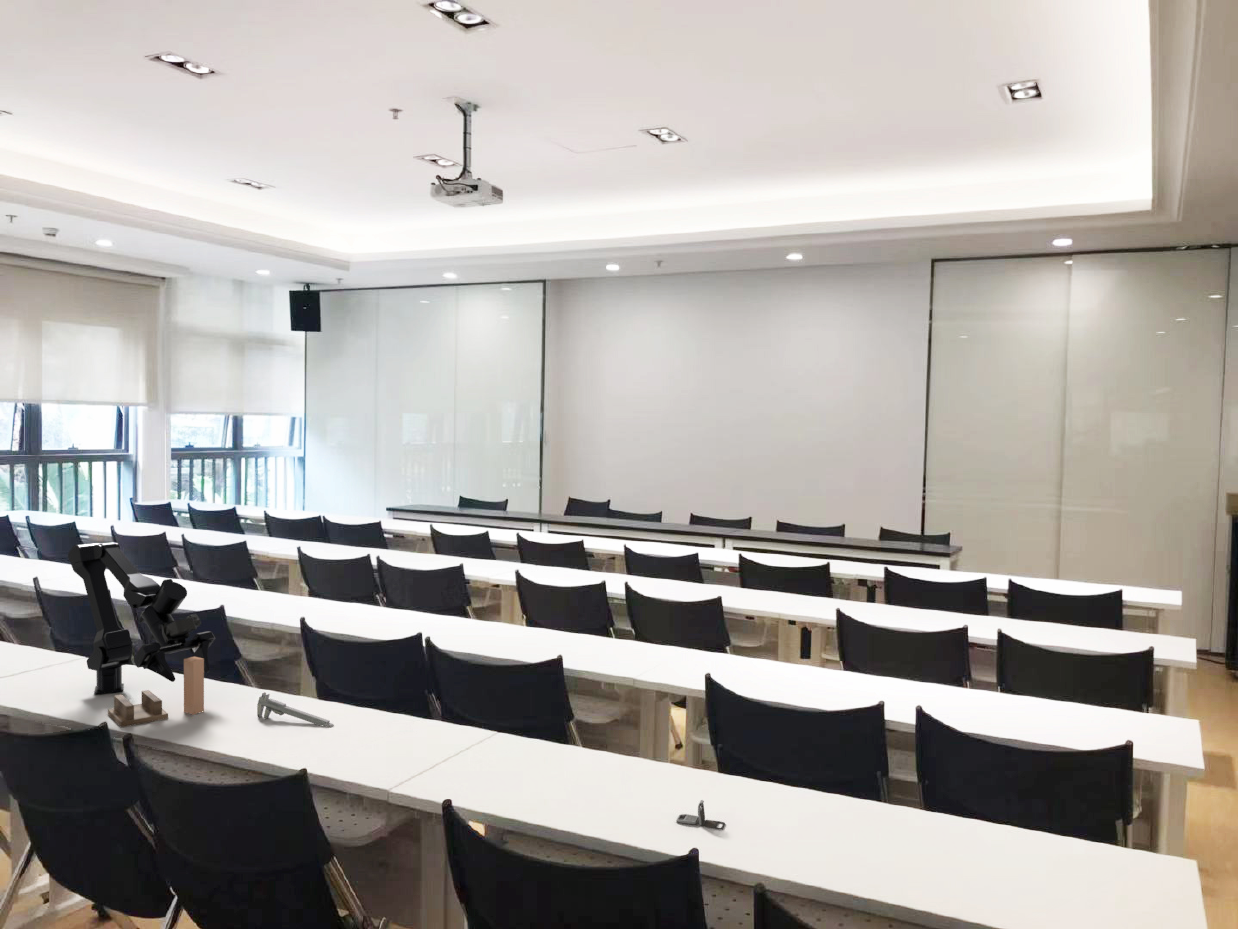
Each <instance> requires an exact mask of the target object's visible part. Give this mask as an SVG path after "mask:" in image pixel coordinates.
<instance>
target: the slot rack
mask: <svg viewBox="0 0 1238 929" xmlns="http://www.w3.org/2000/svg"><path fill="white" fill-rule="evenodd" d="M113 699H114V700H113V708H109V709H107V715H108V716H109V717H110V718H111V719H112V720H113V721H114V722H116V724H117V725H118V724H119V725H120V726H121V727H120V726H119V725H118V726H119V727H120V728H125V727H129V726H130V725H131V726H135V725H134V724H136V725H141V724H145V723H152V722H157V721H164V720H168V719H169V713H168V712H167V711H166V710H165V709H163V700H162V699H161V698H160V697H158V696H157V695H156V694H155V693H153V692H152V691H151V690H149V689H148V690H147V689H146V690H142V691H141V703H137V704H133V703H132V702H131V701H130V700H128V699H127V698H126V697H125V695H123V694H116V695H113ZM131 726H130V727H131Z"/></svg>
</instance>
